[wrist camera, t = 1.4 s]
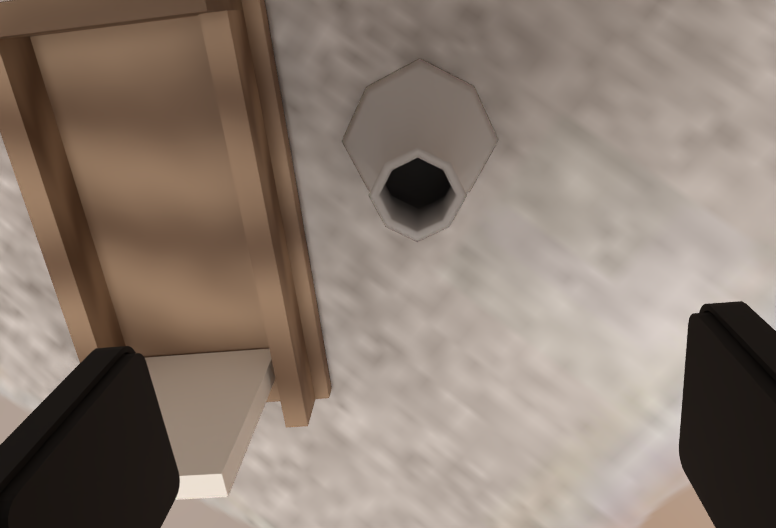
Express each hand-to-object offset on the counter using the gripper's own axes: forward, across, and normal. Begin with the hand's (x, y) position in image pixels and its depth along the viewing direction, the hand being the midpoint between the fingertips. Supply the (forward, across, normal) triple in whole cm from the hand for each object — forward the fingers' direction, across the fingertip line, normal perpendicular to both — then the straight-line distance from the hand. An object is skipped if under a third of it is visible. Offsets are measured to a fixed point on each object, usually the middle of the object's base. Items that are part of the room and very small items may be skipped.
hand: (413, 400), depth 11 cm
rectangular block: (+21, +13, +11) cm, 27 cm away
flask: (+22, 0, 0) cm, 22 cm away
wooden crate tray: (+22, +13, +3) cm, 26 cm away
